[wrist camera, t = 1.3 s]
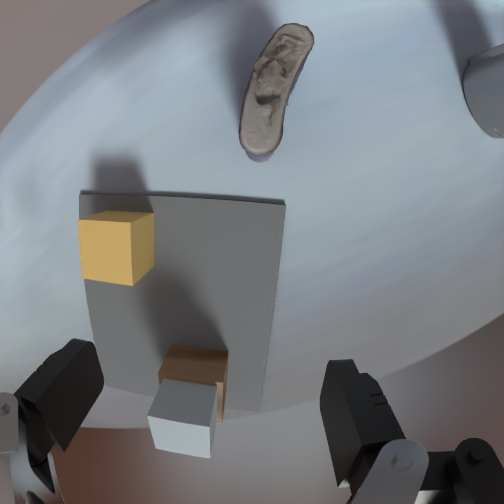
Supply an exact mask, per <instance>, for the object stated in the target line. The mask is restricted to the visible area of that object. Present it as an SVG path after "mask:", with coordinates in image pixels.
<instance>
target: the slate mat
mask: <svg viewBox="0 0 504 504" xmlns="http://www.w3.org/2000/svg"><path fill="white" fill-rule="evenodd" d="M285 209H286V205H282V204H271V203H260V202H249V201H236V200H223V199H208V198H192V197H174V196H151V195H117V194H79V219H81V218H84V217H88V216H91V215H94V214H97V213H100V212H104V211H107V210H108V211H130V212H149V213H154V266H153V267H152V268H151V269H150V270H149V271H148V272H147V273H146V274H145V275H144V276H143V277H142V278H141V279H140V280H139V281H138V282H137V283H135V284H134V285H133V286H129V285H122V284H116V283H109V282H103V281H96V280H90V279H84V282H85V290H86V297H87V303H88V309H89V315H90V321H91V326H92V331H93V336H94V341H95V345H96V350H97V354H98V358H99V362H100V366H101V369H102V372H103V376H104V381H105V385H107V386H111V387H114V388H118V389H122V390H126V391H130V392H134V393H138V394H142V395H146V396H151V397H155V396H156V394H157V392H158V389H159V387H160V384H159V377H158V372H159V370H160V367H161V365H162V363H163V361H164V359H165V357H166V355H167V353H168V351H169V349H170V347H171V345H172V344H176V345H183V346H190V347H197V348H205V349H213V350H222V351H229V354H228V374H227V393H226V399H225V406H224V408H225V409H235V410H246V411H259V409H260V403H261V397H262V390H263V383H264V377H265V370H266V363H267V356H268V349H269V342H270V335H271V327H272V320H273V312H274V304H275V297H276V289H277V280H278V272H279V264H280V255H281V246H282V237H283V228H284V219H285Z"/></svg>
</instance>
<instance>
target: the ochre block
mask: <svg viewBox="0 0 504 504" xmlns="http://www.w3.org/2000/svg"><path fill="white" fill-rule="evenodd" d="M78 231H79V247H80V259H81V269H82V278H84V279H90V280H96V281H103V282H109V283H116V284H122V285H129V286H133V285H134V284H135V283H137V282H138V281H139V280H140V279H141V278H142V277H143V276H144V275H145V274H146V273H147V272H148V271H149V270H150V269H151V268H152V267H153V266H154V213H149V212H130V211H108V210H107V211H104V212H100V213H97V214H94V215H91V216H88V217H84V218H81V219H78Z"/></svg>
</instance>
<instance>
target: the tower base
mask: <svg viewBox="0 0 504 504" xmlns="http://www.w3.org/2000/svg"><path fill="white" fill-rule="evenodd" d="M228 354H229V351H222V350H213V349H205V348H197V347H190V346H183V345H176V344H172V345H171V347H170V349H169V351H168V353H167V355H166V357H165V359H164V361H163V363H162V365H161V367H160V370H159V372H158V377H159V384H160V385H161V383H162V380H163V378H167V379H173V380H178V381H184V382H191V383H198V384H205V385H213V386H217V422H216V423H222V419H223V412H224V406H225V399H226V393H227V374H228Z"/></svg>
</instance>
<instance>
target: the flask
mask: <svg viewBox="0 0 504 504" xmlns="http://www.w3.org/2000/svg"><path fill="white" fill-rule="evenodd" d="M313 45H314V36H313V33H312V32H311V31H310V29H309V28H308V27H307V26H304V25H300V24H297V23H290V24H284V25H283V26H281V27H280V28H278V29H277V31H276V32H275V33H274V34H273V36H272V38H271V39H270V40H269V42H268V44H267V45H266V47H265V48H264V50H263V51H262V53H261V54H260V56H259V58H258V60H257V61H256V63H255V64H254V69H253V72H252V75H251V77H250V80H249V83H248V86H247V89H246V93H245V97H244V102H243V106H242V111H241V118H240V125H239V132H238V133H239V140H240V144H241V146H242V147H243V149H244V150H245V151H246V153H247V156H248V157H249V158H250V159H251V160H253V161H255V162H264V161H267V160H268V159H270V157H271V156H272V154H273V152H274V150H275V149H276V148H277V147H278V145H279V144H280V141H281V139H282V135H283V121H284V113H285V108H286V105H288V104H287V103H288V102H287V101H288V99H289V95H290V94H291V93H292V90H293V89H294V87H295V84H296V82H297V79H298V77H299V75H300V73H301V71H302V69H303V67H304V63H305V61H306V59H307V56H308V54H309V53H310V51H311V50H312V47H313Z"/></svg>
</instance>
